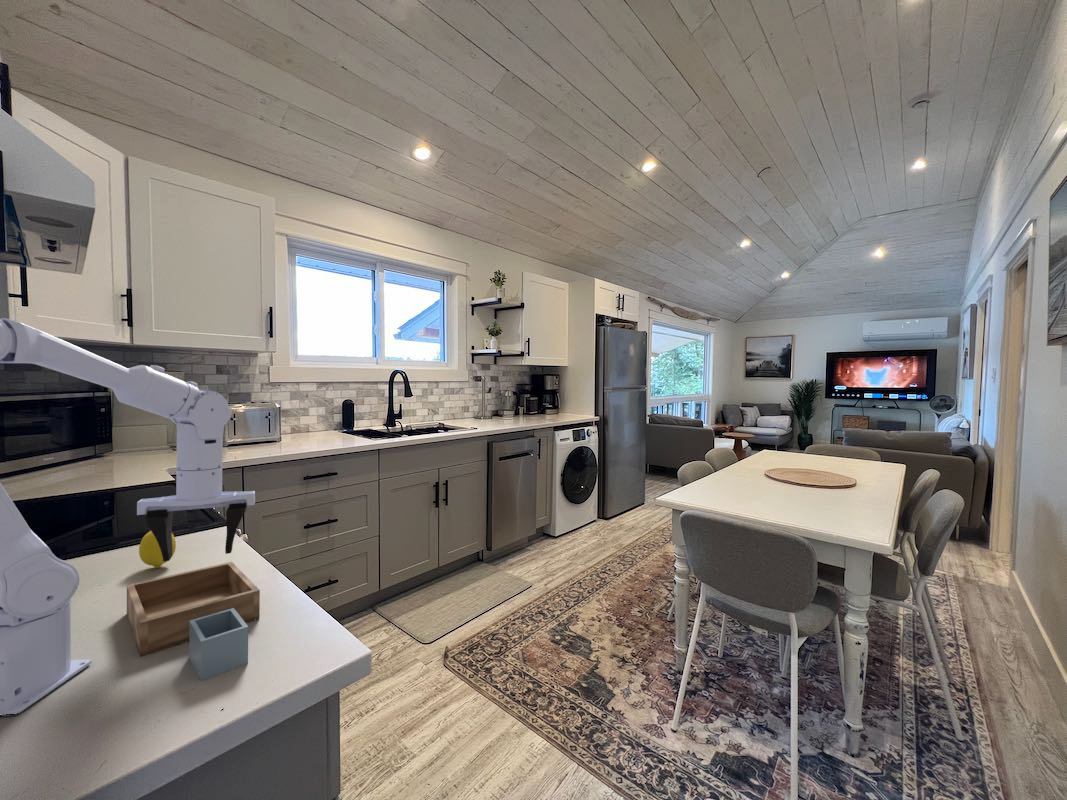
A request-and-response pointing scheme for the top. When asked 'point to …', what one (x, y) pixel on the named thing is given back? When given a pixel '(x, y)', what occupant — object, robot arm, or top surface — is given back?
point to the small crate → (218, 643)
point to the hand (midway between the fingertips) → (199, 555)
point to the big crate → (186, 603)
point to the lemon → (153, 550)
